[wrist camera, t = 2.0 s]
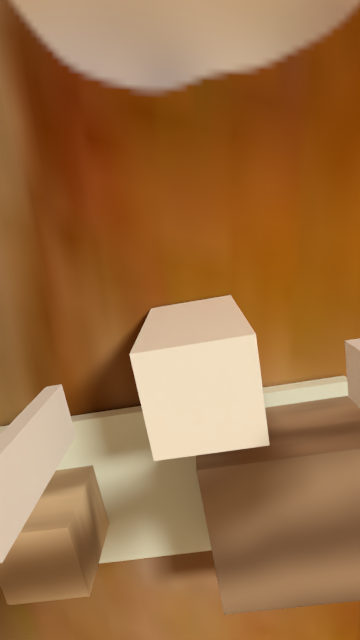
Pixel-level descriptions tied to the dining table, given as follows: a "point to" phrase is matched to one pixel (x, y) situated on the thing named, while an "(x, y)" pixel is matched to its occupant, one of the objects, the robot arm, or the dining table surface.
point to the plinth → (288, 510)
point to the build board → (156, 477)
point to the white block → (199, 379)
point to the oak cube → (58, 542)
